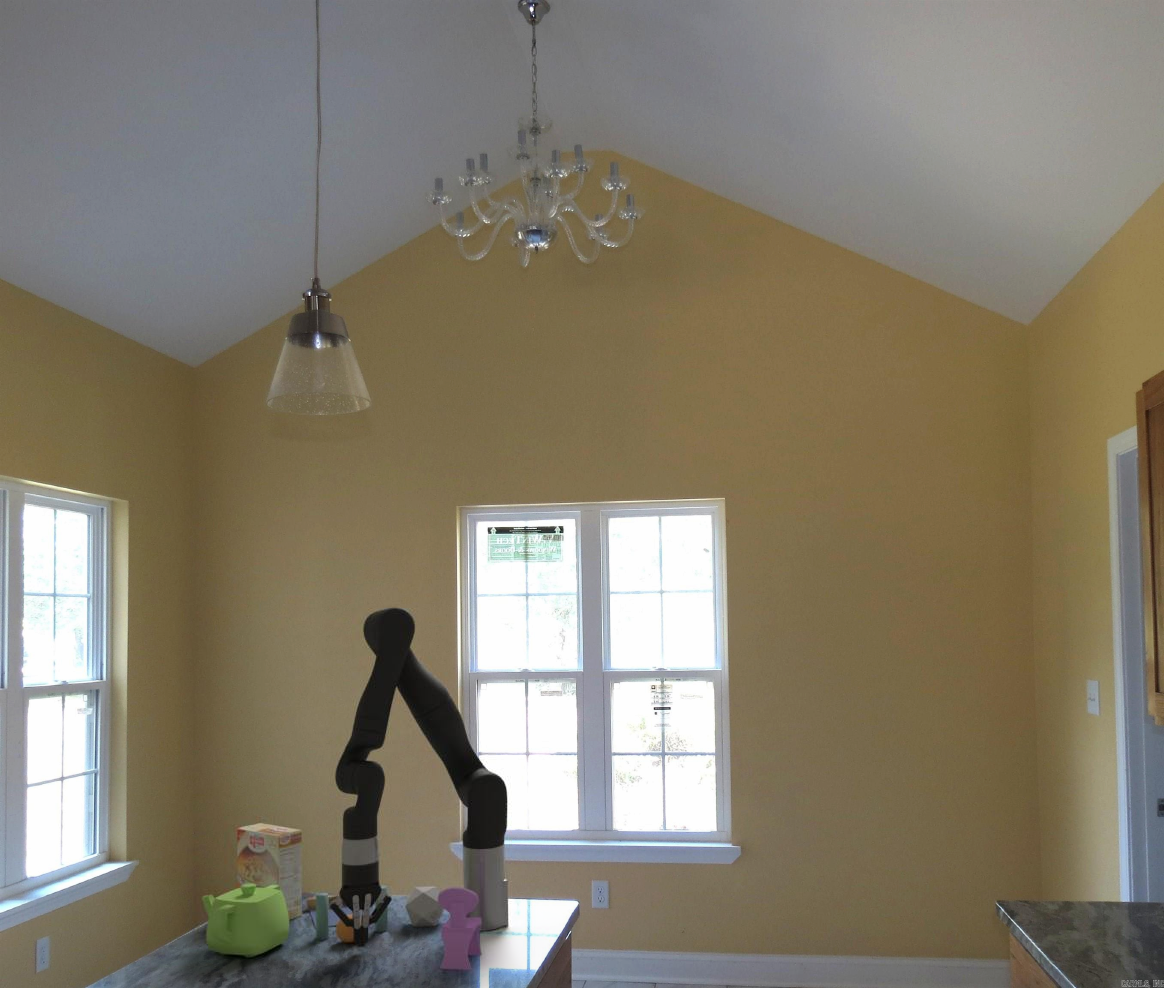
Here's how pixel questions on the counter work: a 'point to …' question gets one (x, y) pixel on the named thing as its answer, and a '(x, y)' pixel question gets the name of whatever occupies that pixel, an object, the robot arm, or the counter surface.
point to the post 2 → (382, 921)
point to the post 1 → (322, 916)
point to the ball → (345, 931)
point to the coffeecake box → (272, 861)
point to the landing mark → (333, 917)
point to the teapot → (246, 920)
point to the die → (424, 906)
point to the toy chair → (459, 928)
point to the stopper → (312, 902)
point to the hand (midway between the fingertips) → (360, 945)
